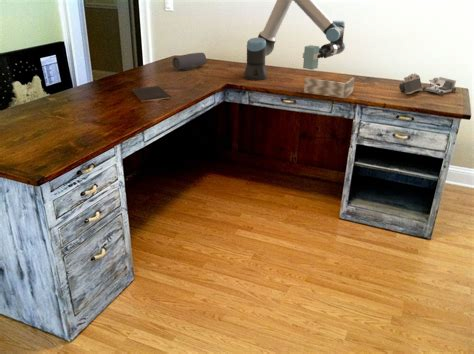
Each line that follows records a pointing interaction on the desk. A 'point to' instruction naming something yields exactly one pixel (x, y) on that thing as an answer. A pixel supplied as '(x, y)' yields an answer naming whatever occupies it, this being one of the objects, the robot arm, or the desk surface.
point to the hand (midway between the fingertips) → (308, 56)
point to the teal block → (310, 57)
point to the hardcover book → (151, 93)
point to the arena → (329, 87)
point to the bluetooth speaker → (189, 61)
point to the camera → (411, 84)
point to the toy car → (441, 85)
